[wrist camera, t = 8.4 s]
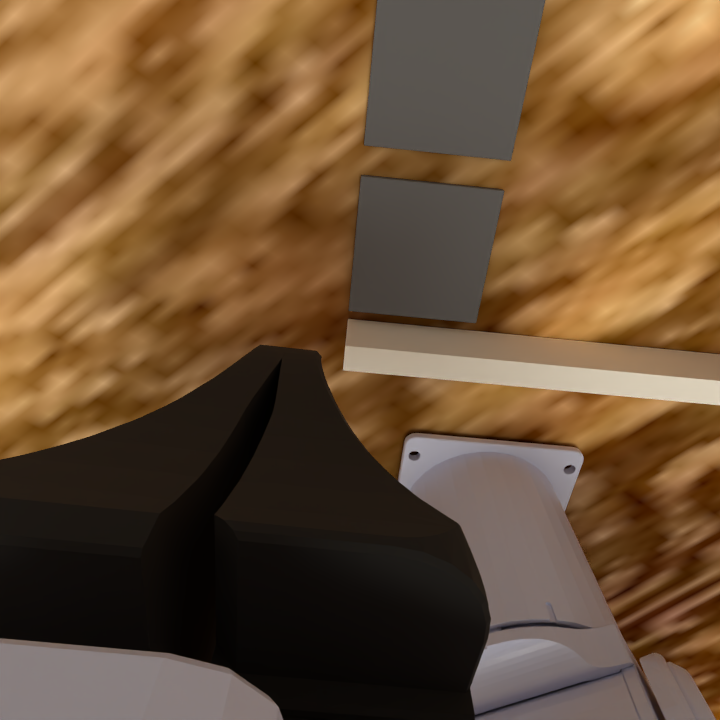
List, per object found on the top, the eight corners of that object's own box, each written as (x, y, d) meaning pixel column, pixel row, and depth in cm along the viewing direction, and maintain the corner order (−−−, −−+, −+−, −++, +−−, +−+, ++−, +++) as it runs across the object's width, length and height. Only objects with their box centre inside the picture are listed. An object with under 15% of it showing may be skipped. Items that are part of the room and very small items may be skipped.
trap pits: (474, 319, 21) (475, 323, 20) (348, 307, 21) (348, 310, 20) (545, -17, 16) (549, -20, 15) (380, -36, 16) (380, -39, 15)
